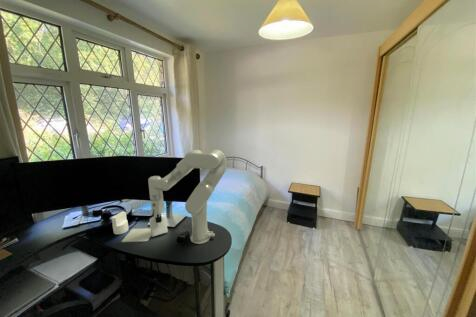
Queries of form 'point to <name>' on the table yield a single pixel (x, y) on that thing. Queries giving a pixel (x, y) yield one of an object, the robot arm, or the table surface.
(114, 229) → the base with upright slab
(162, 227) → the photo printer
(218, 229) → the table surface
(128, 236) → the felt mat
